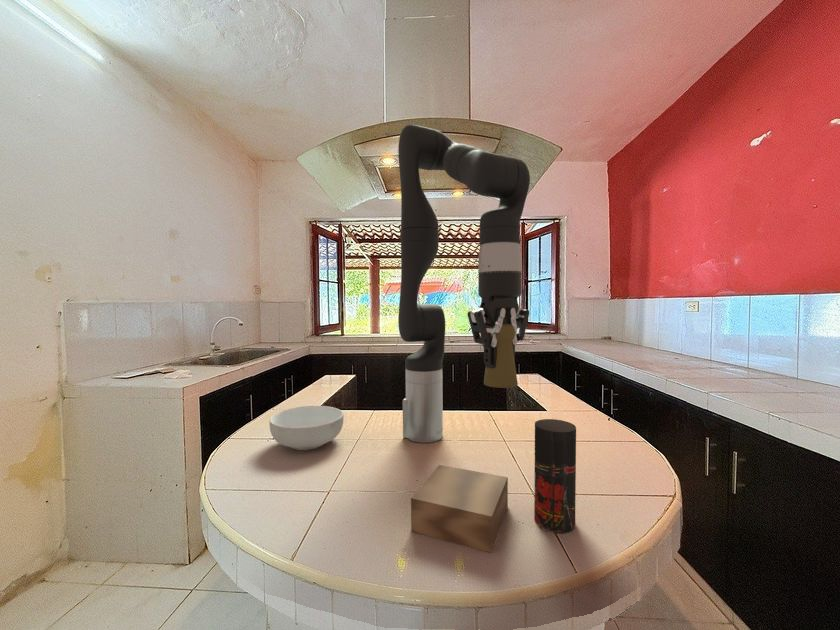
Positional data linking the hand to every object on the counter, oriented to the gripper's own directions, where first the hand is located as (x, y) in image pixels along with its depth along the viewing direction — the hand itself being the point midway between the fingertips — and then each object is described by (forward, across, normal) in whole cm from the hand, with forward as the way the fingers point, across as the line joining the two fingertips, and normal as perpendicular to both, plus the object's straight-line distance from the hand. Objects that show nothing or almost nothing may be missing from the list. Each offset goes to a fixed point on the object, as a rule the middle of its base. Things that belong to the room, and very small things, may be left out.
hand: (499, 365), depth 66 cm
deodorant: (+23, -1, -12) cm, 26 cm away
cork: (+3, 0, 0) cm, 3 cm away
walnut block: (+22, -12, -3) cm, 26 cm away
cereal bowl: (+23, -22, +41) cm, 52 cm away
